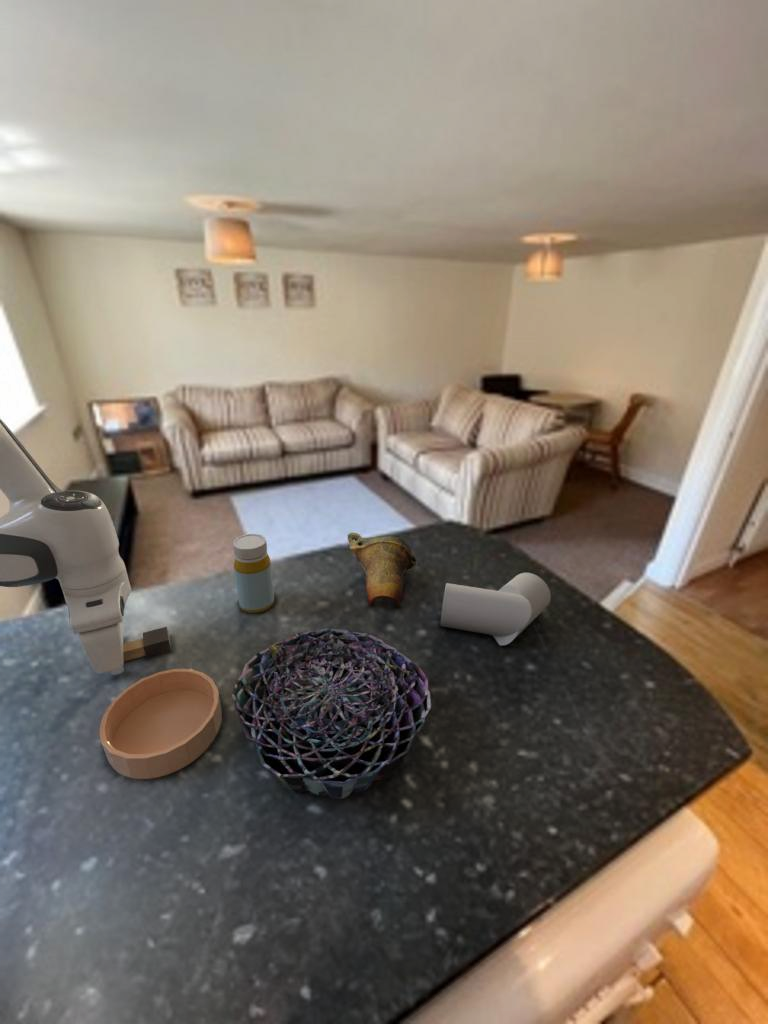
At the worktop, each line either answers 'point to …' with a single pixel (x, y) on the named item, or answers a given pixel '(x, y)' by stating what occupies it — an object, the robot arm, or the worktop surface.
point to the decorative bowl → (331, 709)
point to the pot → (383, 563)
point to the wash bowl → (161, 723)
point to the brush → (148, 645)
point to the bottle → (253, 573)
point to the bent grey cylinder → (496, 607)
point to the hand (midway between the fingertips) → (118, 654)
